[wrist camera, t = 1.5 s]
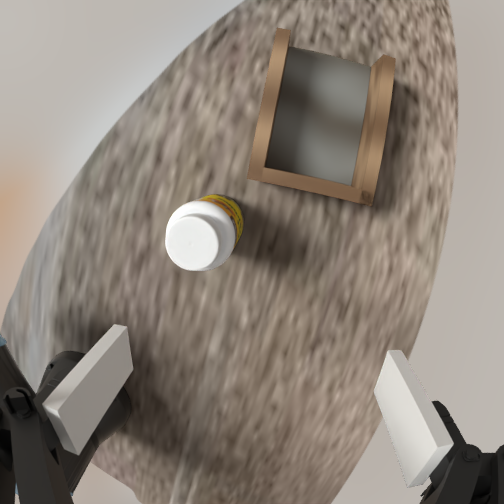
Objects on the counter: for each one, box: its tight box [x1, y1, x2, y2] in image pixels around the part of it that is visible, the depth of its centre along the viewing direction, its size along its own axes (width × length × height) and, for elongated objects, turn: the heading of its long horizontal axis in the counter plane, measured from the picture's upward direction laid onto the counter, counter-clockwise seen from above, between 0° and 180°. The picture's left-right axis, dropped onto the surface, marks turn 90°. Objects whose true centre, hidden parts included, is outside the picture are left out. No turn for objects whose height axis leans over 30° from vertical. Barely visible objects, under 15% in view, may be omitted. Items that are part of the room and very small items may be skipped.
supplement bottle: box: [166, 194, 244, 271], centre depth 26 cm, size 6×6×10 cm
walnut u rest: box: [247, 28, 396, 207], centre depth 25 cm, size 14×11×5 cm
